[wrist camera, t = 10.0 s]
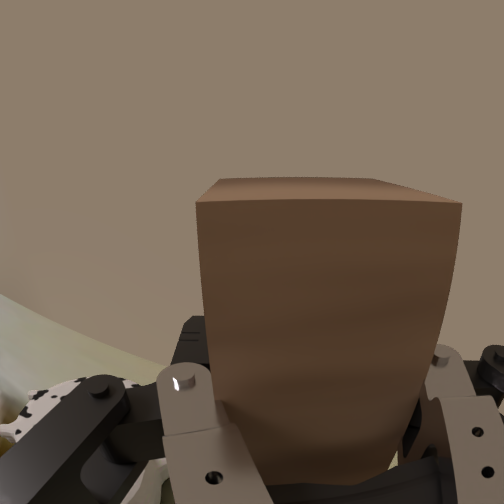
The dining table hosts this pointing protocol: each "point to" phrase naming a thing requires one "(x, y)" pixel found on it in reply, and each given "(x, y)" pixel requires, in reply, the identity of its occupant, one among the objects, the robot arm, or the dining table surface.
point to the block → (322, 316)
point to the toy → (41, 402)
